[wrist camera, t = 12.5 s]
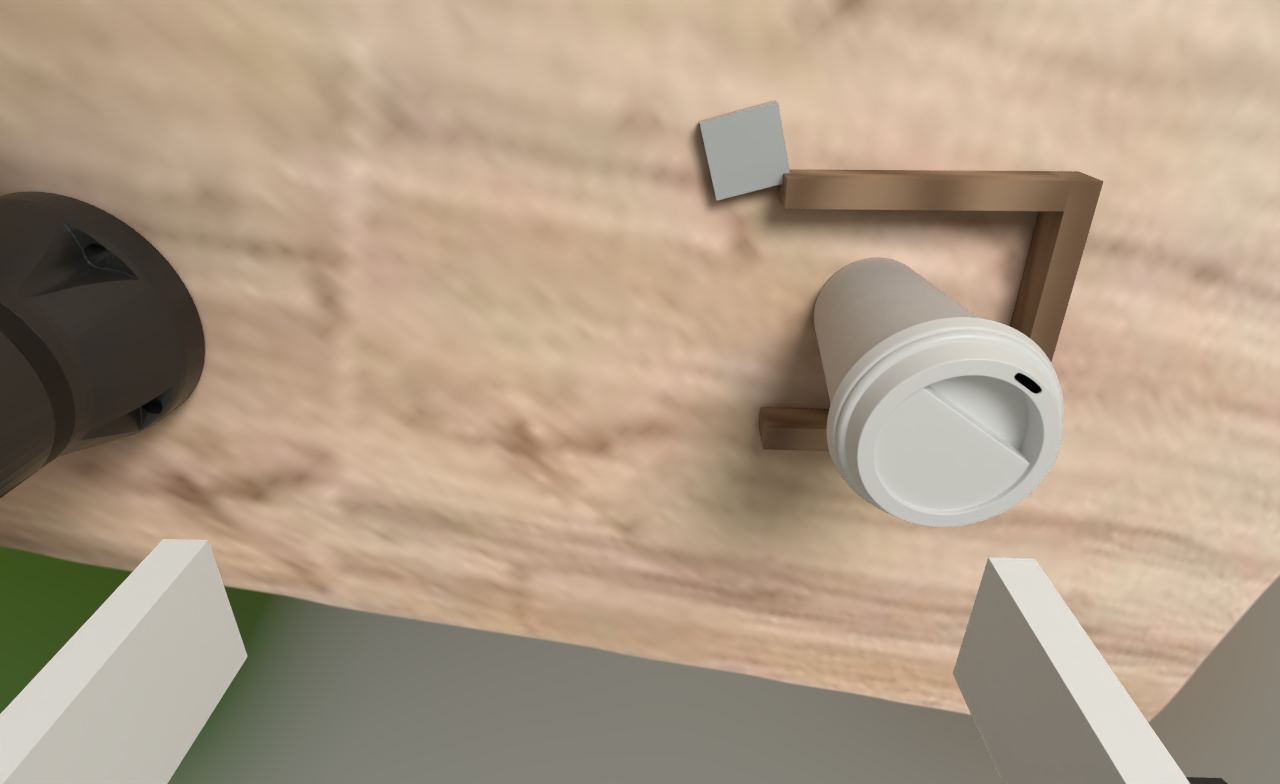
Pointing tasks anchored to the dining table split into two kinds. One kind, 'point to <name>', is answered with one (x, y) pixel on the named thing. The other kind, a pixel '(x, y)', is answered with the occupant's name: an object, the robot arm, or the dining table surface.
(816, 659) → the dining table surface
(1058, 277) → the bracket
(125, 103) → the dining table surface
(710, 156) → the slate tile
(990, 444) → the coffee cup
